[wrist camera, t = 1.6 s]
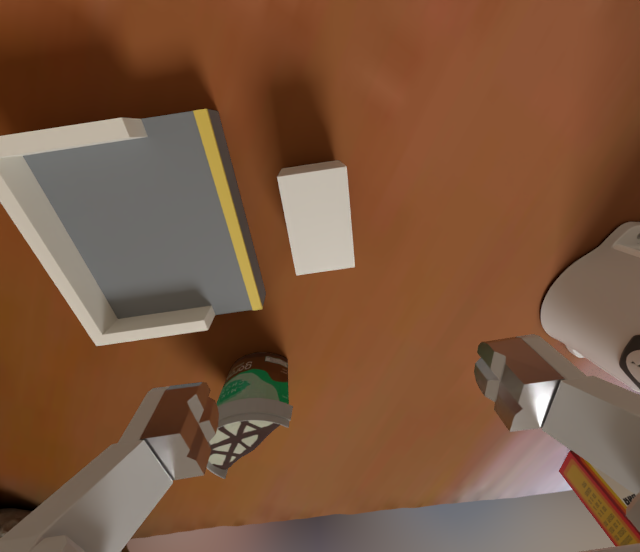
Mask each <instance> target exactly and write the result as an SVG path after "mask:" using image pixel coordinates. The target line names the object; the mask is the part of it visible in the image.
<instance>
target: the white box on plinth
mask: <svg viewBox="0 0 640 552" xmlns="http://www.w3.org/2000/svg"><path fill="white" fill-rule="evenodd" d="M277 179H278V185H279V190H280V195H281V200H282V205H283V210H284V215H285V220H286V225H287V230H288V236H289V241H290V246H291V251H292V256H293V261H294V266H295V271H296V275H303V274H310V273H317V272H324V271H331V270H338V269H344V268H351V267H355V262H354V250H353V237H352V225H351V213H350V201H349V189H348V177H347V166H345V165H344V164H343V163H342V162H340V161H339V160H335V161H329V162H322V163H315V164H309V165H302V166H295V167H289V168H282V169H281V171H280V172H279V174H278V176H277Z"/></svg>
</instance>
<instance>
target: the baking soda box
mask: <svg viewBox="0 0 640 552" xmlns="http://www.w3.org/2000/svg"><path fill="white" fill-rule="evenodd" d="M559 472H560V473H561V475H562V476H563V477H564V479H565V480H566V481H567V483H568V484H569V485H570V486H571V488H572V489H573V490H574V492H575V493H576V494H577V496H578V497H579V498H580V500H581V501H582V502H583V504H584V505H585V506H586V508H587V509H588V510H589V512H590V513H591V514H592V516H593V517H594V518H595V519H596V521H597V522H598V524H599V525H600V526H601V528H602V529H603V530H604V532H605V533H606V534H607V536H608V537H609V538H610V540H611V541H612V542H613V543H614V545H615V546H616V547H617V546H624V545H631V544H638V543H640V532H639V531H638V530H637V528H636V527H635V526H634V525H633V524H632V522H631V521H630V520H629V519H628V518H627V516H626V508H627V507H628V505H629V504H630V503H631V502H632V500H633V499H634V498H635V496H636V495H635V494H634V493H632V492H631V491H629V490H628V489H626V488H625V487H624V486H622V485H621V484H619V483H618V482H616V481H615V480H613V479H612V478H611V477H609V476H608V475H606V474H605V473H603V472H602V471H601V470H599V469H598V468H596V467H595V466H593V465H592V464H590V463H589V462H588V461H586V460H585V459H583V458H582V457H580V456H579V455H577V454H576V453H575V452H573V451H570V452H569V453H568V455H567V457H566V459H565V461H564V463H563V465H562V467H561V468H560V470H559Z"/></svg>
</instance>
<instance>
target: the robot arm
mask: <svg viewBox="0 0 640 552" xmlns="http://www.w3.org/2000/svg"><path fill="white" fill-rule="evenodd" d="M541 323H542V326H543V328H544V330H545V331H546V332H547V333H548V334H549V335H550V336H551V337H553V338H555V339H557V340H559V341H561V342H562V343H564V344H565V345H566V347H567V349H568V350H569V351H570V352H571V353H572V354H574V355H575V356H577V357H579V358H584V357H585V358H587V359H588V360H590V361H591V362H593V363H594V364H595V365H597V366H598V367H600V368H601V369H603V370H604V371H606V372H607V373H609V374H610V375H612V376H613V377H615V378H616V379H618V380H619V381H621V382H623V383H624V384H626V385H627V386H629V387H630V388H632V389H633V390H635V391H637V392H640V222H627V223H624V224H622V225H621V226H619V227H618V228H617V229H616V230H615V231H614V232H612V233H611V234H610V235H609V237H608V238H607V239H606V240H605V241H604V242H603V243H602V244H601V245H600V246H598V247H597V248H596V249H594V250H593V251H591V252H590V253H588V254H586V255H585V256H583V257H582V258H580V259H579V260H577V261H576V262H575V263H573V264H572V265H571V266H570V267H568V268H567V269H566V270H565V271H564V272H563V273H562V274H561V275H560V276H559V277H558V278H557V280H556V281H555V282H554V283H553V285H552V286H551V288H550V289H549V291H548V293H547V294H546V296H545V299H544V301H543V304H542V308H541ZM477 353H478V354H479V355H480V357H481V358H480V359H479V360H478V361H477V362H476V363H475V369H474V373H475V378H476V382H477V384H478V386H479V388H480V390H481V391H482V393H483V394H484V396H486V397H487V398H489V399H491V400H492V401H494V402H495V406H494V410H495V411H496V413H497V414H498V416H499V417H500V419H501V420H502V421H503V423H504V424H505V426H506V427H507V428H508V430H509V431H510V432H511V431H520V430H529V429H538V428H542V430H543V431H544V432H546V433H547V434H549V435H550V436H551V437H553V438H554V439H556V440H557V441H559V442H560V443H562V444H563V445H564V446H566V447H567V448H569V449H570V450H572V451H573V452H575V453H576V454H577V455H579V456H580V457H582V458H583V459H585V460H586V461H588V462H589V463H590V464H592V465H593V466H595V467H596V468H598V469H599V470H601V471H602V472H603V473H605V474H606V475H608V476H609V477H611V478H612V479H613V480H615V481H616V482H618V483H619V484H621V485H622V486H624V487H625V488H626V489H628V490H629V491H631V492H632V493H634V494H635V495H636V496H635V498H634V499H633V500H632V502H631V503H630V504H629V505H628V507H627V508H626V516H627V518H628V519H629V520H630V521H631V522H632V524H633V525H634V526H635V527H636V528H637V530H638V531H639V532H640V395H639V394H636V393H634V392H631V391H629V390H626V389H624V388H622V387H619V386H617V385H614V384H612V383H609V382H607V381H605V380H602V379H600V378H597V377H595V376H588V377H587V376H586V375H585V374H584V373H583V372H581V371H580V370H579V369H578V368H577V367H575V366H574V365H573V364H572V363H571V362H569V361H568V360H567V359H566V358H565V357H564V356H562V355H561V354H560V353H559V352H558V351H556V350H555V349H554V348H553V347H552V346H551V345H549V344H548V343H547V342H546V341H545V340H543V339H542V338H541V337H540V336H537V335H535V334H531V335H525V336H518V337H512V338H505V339H499V340H492V341H486V342H481V343H480V345H479V346H478V351H477ZM210 391H211V390H210V388H209V386H208V385H207V383H205V382H200V383H192V384H183V385H175V386H169V387H160V388H153V389H152V390H150V391H149V392H148V393H147V395H146V396H145V398H144V400H143V401H142V403H141V405H140V407H139V408H138V410H137V412H136V413H135V415H134V417H133V418H132V420H131V422H130V423H129V425H128V427H127V428H126V430H125V432H124V434H123V435H122V437H121V439H120V440H119V442H118V443H117V444H112V445H111V446H109V447H108V448H107V449H106V450H105V451H103V452H102V453H101V454H100V455H99V456H97V457H96V458H95V459H94V460H93V461H92V462H90V463H89V464H88V465H87V466H86V467H84V468H83V469H82V470H81V471H80V472H79V473H77V474H76V475H75V476H74V477H73V478H71V479H70V480H69V481H68V482H67V483H65V484H64V485H63V486H62V487H61V488H60V489H58V490H57V491H56V492H55V493H54V494H52V495H51V496H50V497H49V498H48V499H46V500H45V501H44V502H43V503H42V504H41V505H39V506H38V507H37V508H36V509H35V510H33V511H32V512H31V513H30V514H29V515H27V516H26V517H25V518H24V519H23V520H22V521H20V522H19V523H18V524H17V525H16V526H14V527H13V528H12V529H11V530H10V531H9V532H7V533H6V534H5V535H4V536H3V537H1V538H0V552H120V551H121V550H122V549H123V548H124V546H125V545H126V544H127V542H128V541H129V540H130V538H131V537H132V536H133V534H134V533H135V532H136V530H137V529H138V528H139V527H140V525H141V524H142V523H143V521H144V520H145V519H146V517H147V516H148V515H149V513H150V512H151V511H152V510H153V508H154V507H155V506H156V504H157V503H158V502H159V500H160V499H161V498H162V496H163V495H164V494H165V493H166V491H167V490H168V489H169V487H170V486H171V485H172V483H173V481H172V480H178V479H184V478H190V477H196V476H201V475H204V474H205V471H206V467H207V464H208V460H209V457H210V453H211V448H210V445H209V443H208V442H209V441H210V440H211V439H212V438H213V437H214V436H215V435H216V431H217V428H218V421H219V412H218V406H217V404H216V402H215V400H213V399H211V398H210V397H208V396H209V393H210ZM581 552H640V543H638V544H631V545H624V546H617V547H610V548H603V549H595V550H589V551H581Z"/></svg>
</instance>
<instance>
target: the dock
mask: <svg viewBox="0 0 640 552" xmlns="http://www.w3.org/2000/svg"><path fill="white" fill-rule="evenodd" d="M0 202H1V204H2V205H3V207H4V208H5V210H6V211H7V213H8V214H9V216H10V217H11V219H12V220H13V222H14V223H15V225H16V226H17V228H18V229H19V231H20V232H21V234H22V235H23V237H24V238H25V240H26V241H27V243H28V244H29V246H30V247H31V249H32V250H33V252H34V253H35V255H36V256H37V258H38V259H39V261H40V262H41V264H42V265H43V267H44V268H45V270H46V271H47V273H48V274H49V276H50V277H51V279H52V280H53V282H54V283H55V285H56V286H57V288H58V289H59V291H60V292H61V294H62V295H63V297H64V298H65V300H66V301H67V303H68V304H69V306H70V307H71V309H72V310H73V312H74V313H75V315H76V316H77V318H78V319H79V321H80V322H81V324H82V325H83V327H84V328H85V330H86V331H87V333H88V334H89V336H90V337H91V339H92V340H93V342H94V343H95V345H96V346H101V345H108V344H115V343H122V342H129V341H136V340H143V339H150V338H157V337H164V336H171V335H178V334H185V333H192V332H199V331H206V330H208V329H209V327H210V325H211V323H212V321H213V319H214V317H215V315H219V314H226V313H233V312H240V311H247V310H253V311H254V310H261V309H262V308H263V304H264V300H265V295H266V292H265V288H264V284H263V280H262V277H261V273H260V269H259V265H258V261H257V258H256V254H255V250H254V246H253V242H252V239H251V235H250V231H249V227H248V223H247V220H246V216H245V212H244V208H243V204H242V201H241V197H240V193H239V189H238V185H237V181H236V178H235V174H234V170H233V166H232V162H231V159H230V155H229V151H228V147H227V143H226V140H225V136H224V132H223V128H222V124H221V121H220V117H219V113H218V111H215V110H210V109H200V110H194V111H189V112H183V113H176V114H170V115H163V116H157V117H150V118H144V119H136V118H122V117H121V118H115V119H108V120H102V121H95V122H89V123H82V124H76V125H69V126H63V127H56V128H50V129H43V130H37V131H30V132H23V133H17V134H10V135H4V136H0Z"/></svg>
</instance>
